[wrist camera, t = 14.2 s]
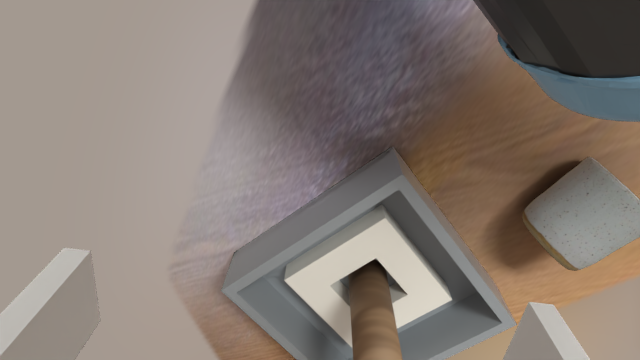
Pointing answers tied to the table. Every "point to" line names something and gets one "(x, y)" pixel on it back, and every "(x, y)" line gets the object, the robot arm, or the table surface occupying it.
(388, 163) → the grey box
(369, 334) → the walnut peg
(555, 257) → the ceramic mug
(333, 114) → the table surface
